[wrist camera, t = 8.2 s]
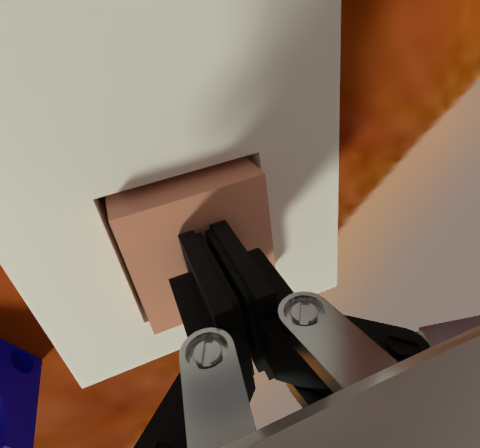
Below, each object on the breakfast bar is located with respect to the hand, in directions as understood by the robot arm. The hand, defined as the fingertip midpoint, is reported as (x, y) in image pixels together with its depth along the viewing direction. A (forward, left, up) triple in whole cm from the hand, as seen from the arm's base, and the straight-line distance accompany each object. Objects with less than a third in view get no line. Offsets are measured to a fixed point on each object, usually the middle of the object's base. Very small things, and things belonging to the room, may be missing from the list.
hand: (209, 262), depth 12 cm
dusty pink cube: (0, 0, -6) cm, 7 cm away
